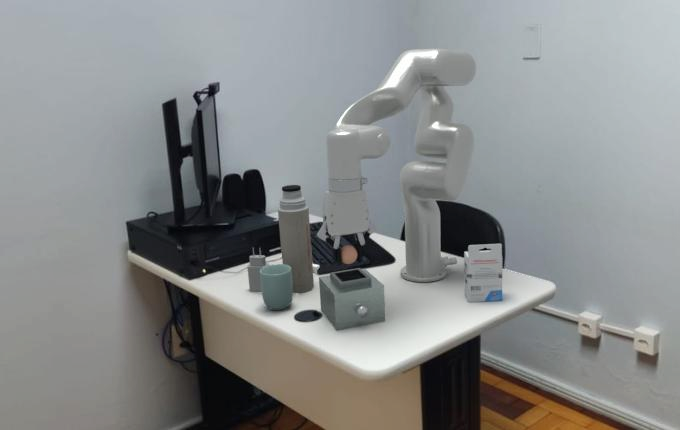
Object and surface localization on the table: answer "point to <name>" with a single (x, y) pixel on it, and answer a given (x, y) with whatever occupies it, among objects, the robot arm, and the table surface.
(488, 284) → the ink box
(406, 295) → the table surface
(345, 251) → the peach sphere
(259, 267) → the power adapter
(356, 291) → the box
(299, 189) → the thermos bottle
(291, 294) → the cup
